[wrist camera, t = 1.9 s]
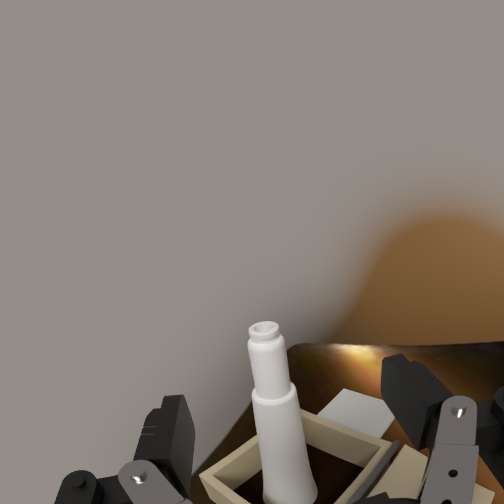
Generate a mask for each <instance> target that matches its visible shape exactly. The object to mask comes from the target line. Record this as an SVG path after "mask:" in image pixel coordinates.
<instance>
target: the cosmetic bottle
mask: <svg viewBox="0 0 504 504" xmlns="http://www.w3.org/2000/svg"><path fill="white" fill-rule="evenodd" d="M249 336H250V337H251V338H250V339H249V340H248V352H249V357H250V362H251V367H252V373H253V377H254V383H255V388H254V389H253V392H252V401H253V409H254V417H255V424H256V430H257V436H258V443H259V449H260V455H261V462H262V470H263V500H264V503H265V504H313V503H314V502H315V500H316V498H317V494H318V490H317V486H316V484H315V481H314V479H313V476H312V472H311V469H310V464H309V460H308V454H307V449H306V443H305V436H304V430H303V424H302V418H301V412H300V407H299V401H298V396H297V391H296V387H295V385H294V384H293V383H292V382H290V378H289V370H288V362H287V355H286V347H285V340H284V337H283V336H282V335H281V334H280V333H279V325H278V324H277V323H275V322H271V321H265V322H259V323H256V324H254V325H252V326H251V327H250V328H249Z"/></svg>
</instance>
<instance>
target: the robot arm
mask: <svg viewBox="0 0 504 504" xmlns="http://www.w3.org/2000/svg"><path fill="white" fill-rule="evenodd" d="M381 395H382V398H383V400H384V402H385V403H386V405H387V406H388V408H389V409H390V411H391V412H392V414H393V415H394V417H395V418H396V420H397V421H398V423H399V424H400V426H401V427H402V428H403V430H404V431H405V433H406V434H407V436H408V437H409V439H410V440H411V442H412V443H413V445H414V446H415V448H416V449H417V451H419V450H421V449H424V448H426V447H428V449H429V450H430V452H429V455H428V459H427V463H426V467H425V470H424V474H423V478H422V481H421V484H420V488H419V491H418V494H417V497H416V499H412V498H389V496H388V494H387V492H383V493H380V494H377V495H374V496H371V497H368V498H365V499H362V500H358V501H356V502H354V503H352V504H472V499H473V493H474V487H475V480H476V472H477V463H478V454H479V455H480V457H481V458H482V459H483V461H484V462H485V464H486V465H487V466H488V468H489V469H490V471H491V472H492V473H493V475H494V476H495V478H496V479H497V481H498V482H499V483H500V485H501V486H502V488H503V489H504V387H501V388H499V389H498V390H497V391H496V392H495V394H494V398H493V400H489V401H485V402H480V403H475V402H474V401H473V400H472V399H471V398H469V397H465V396H454V395H453V394H452V393H451V392H450V391H449V390H448V389H447V388H446V387H445V386H444V385H443V384H442V383H441V382H440V381H439V380H438V379H436V377H435V376H434V375H433V374H432V373H431V372H430V371H429V370H428V369H427V368H426V367H425V366H424V365H422V364H420V363H418V362H416V361H412V362H410V361H409V360H408V359H407V358H406V357H405V356H404V355H403V354H401V353H399V354H395V355H392V356H388V357H385V358H383V360H382V374H381ZM194 443H195V428H194V424H193V420H192V417H191V414H190V411H189V408H188V405H187V402H186V400H185V397H184V395H171V396H164V398H163V402H162V405H161V408H160V409H159V408H158V409H153V410H152V411H151V412H150V413H149V414H148V416H147V417H146V419H145V422H144V428H143V429H142V432H141V436H140V439H139V443H138V445H137V449H136V453H135V456H134V459H133V461H132V462H129V463H127V464H126V465H124V466H123V467H122V468H121V470H120V471H119V474H118V475H115V476H111V477H105V478H100V479H96V477H95V476H94V475H93V474H92V473H91V472H88V471H84V470H79V471H74V472H72V473H70V474H69V475H67V476H66V477H65V478H64V480H63V481H62V484H61V487H60V489H59V492H58V495H57V497H56V501H55V503H54V504H192V503H191V502H190V501H189V500H188V499H187V498H189V496H190V485H191V474H192V462H193V453H194ZM184 498H185V499H184Z"/></svg>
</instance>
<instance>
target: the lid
mask: <svg viewBox="0 0 504 504" xmlns="http://www.w3.org/2000/svg"><path fill="white" fill-rule="evenodd" d="M427 459H428V457H426V456H425V455H423V454H421V453H419V452H418V451H416V450H414V449H413V448H411V447H409V446H407V445H406V444H405V445H404V446H403V447H402V448H401V450H400V451H399V453H398V454H397V456H396V457H395V459H394V460H393V462H392V463H391V465H390V466H389V467H388V469H387V470H386V472H385V473H384V474H383V476H382V477H381V478H380V480H379V481H378V482H377V484H376V485H375V486H374V488H373V489H372V490H371V492H370V493H369V494H368V495H367V497H366V498H368V497H371V496H374V495H377V494H380V493H383V492H387V494H388V496H389V498H412V499H416V497H417V494H418V491H419V488H420V484H421V481H422V478H423V474H424V470H425V467H426V463H427ZM494 495H495V492H493V491H490V490H488V489H486V488H484V487H482V486H480V485H478V484H476V483H475V487H474V493H473V499H472V504H491V503H492V500H493V497H494Z"/></svg>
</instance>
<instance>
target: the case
mask: <svg viewBox="0 0 504 504" xmlns="http://www.w3.org/2000/svg"><path fill="white" fill-rule="evenodd" d="M300 412H301V418H302V424H303V430H304V436H305V443H307V444H309V445H311V446H313V447H316V448H318V449H320V450H322V451H325V452H327V453H329V454H331V455H334V456H336V457H339V458H341V459H343V460H346V461H348V462H351V463H353V464H356V465H358V466H361V467H363V468H364V469H363V471H362V472H361V473H360V474H359V476H358V477H357V478H356V479H355V480H354V482H353V483H352V484H351V485H350V486H349V487H348V489H347V490H346V491H345V492H344V493H343V494H342V495H341V496H340V498H339V499H338V500H337V501H336V502H335V503H334V504H352V503H354V502H356V501H358V500H362V499H365V498H366V497H367V495H368V494H369V493H370V492H371V490H372V489H373V488H374V486H375V485H376V484H377V482H378V481H379V480H380V478H381V477H382V476H383V474H384V473H385V472H386V470H387V469H388V467H389V464H390V459H391V458H392V456H393V455H394V453H395V452H396V450H397V449H398V447H399V446H400V444H401V442H400V441H398V440H395V441H394V442H393V443H391V442H388V441H385V440H382V439H379V438H376V437H373V436H370V435H367V434H364V433H362V432H359V431H356V430H353V429H350V428H348V427H345V426H342V425H340V424H337V423H334V422H332V421H329V420H327V419H324V418H322V417H319V416H317V415H314V414H312V413H309V412H307V411H305V410H302V409H300ZM261 469H262V462H261V455H260V449H259V443H258V436H257V435H256V436H254V437H253V438H252V439H250V440H249V441H248V442H246V443H245V444H243V445H242V446H241V447H239V448H238V449H237V450H235V451H234V452H232V453H231V454H229V455H228V456H227V457H225V458H224V459H222V460H221V461H219V462H218V463H216V464H215V465H213V466H212V467H210V468H209V469H207V470H206V471H204V472H203V473H201V474H200V475H199V477H200V479H201V481H202V483H203V485H204V487H205V489H206V491H207V493H208V495H209V497H210V499H211V500H213V501H214V502H215V503H216V504H250V503H249V502H248V501H246V500H245V499H243V498H242V497H240V496H239V495H238V494H236V493H235V492H234V491H233V490H235V489H236V488H238V487H239V486H240V485H242V484H243V483H244V482H246V481H247V480H248V479H250V478H251V477H252V476H253V475H255V474H256V473H257V472H259V471H260V470H261Z"/></svg>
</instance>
